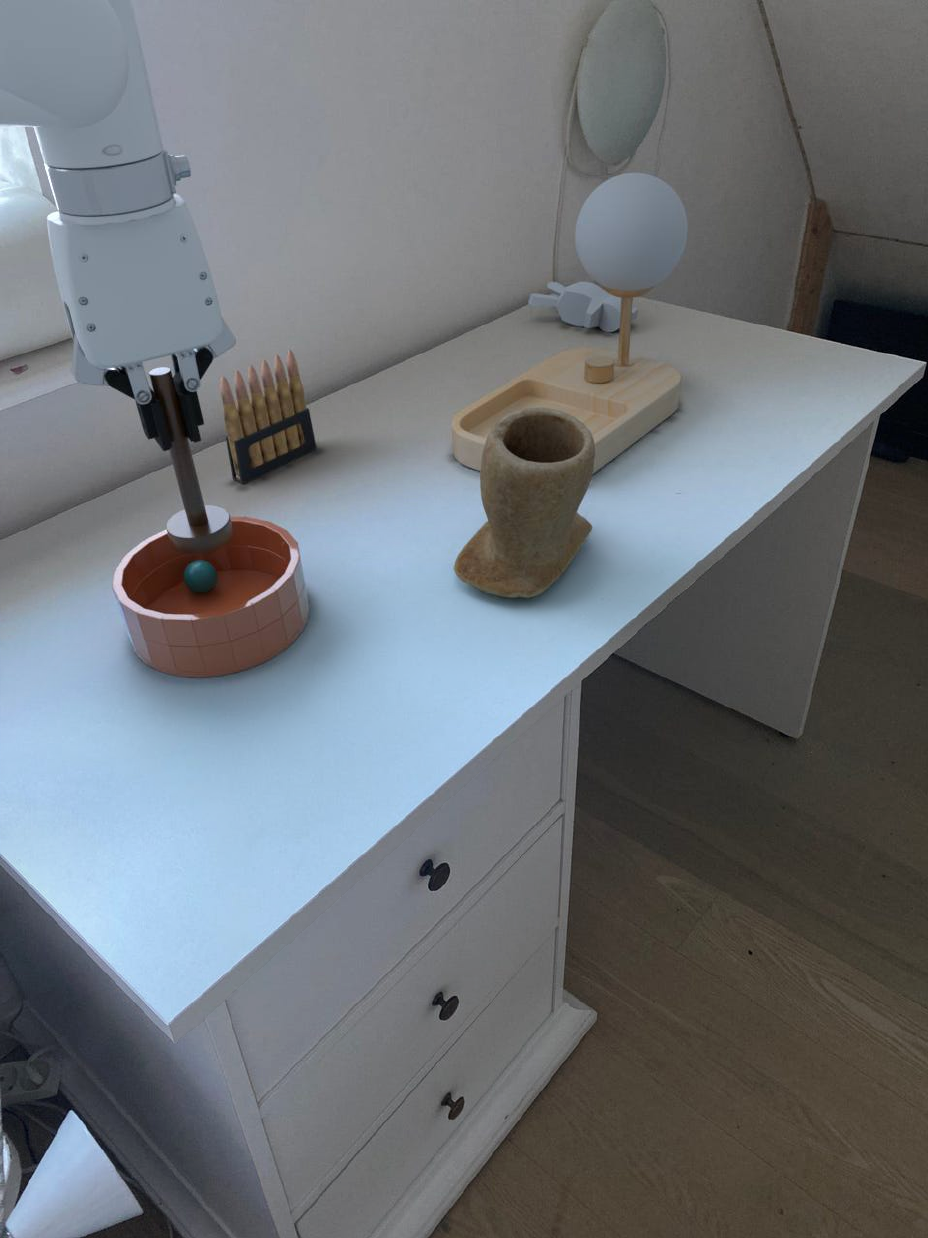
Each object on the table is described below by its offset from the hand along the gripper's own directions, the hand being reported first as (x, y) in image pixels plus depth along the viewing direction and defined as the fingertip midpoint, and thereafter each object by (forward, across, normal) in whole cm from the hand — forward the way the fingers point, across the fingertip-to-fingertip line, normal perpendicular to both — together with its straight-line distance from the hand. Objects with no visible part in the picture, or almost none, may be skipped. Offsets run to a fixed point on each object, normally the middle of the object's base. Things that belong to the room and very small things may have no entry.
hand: (176, 438), depth 73 cm
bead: (+17, 0, -4) cm, 18 cm away
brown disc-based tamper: (+9, 0, 0) cm, 9 cm away
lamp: (+18, -49, -14) cm, 54 cm away
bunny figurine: (+18, -69, -40) cm, 82 cm away
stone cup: (+18, -28, +8) cm, 34 cm away
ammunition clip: (+18, -15, -25) cm, 34 cm away
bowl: (+18, 0, 0) cm, 18 cm away
